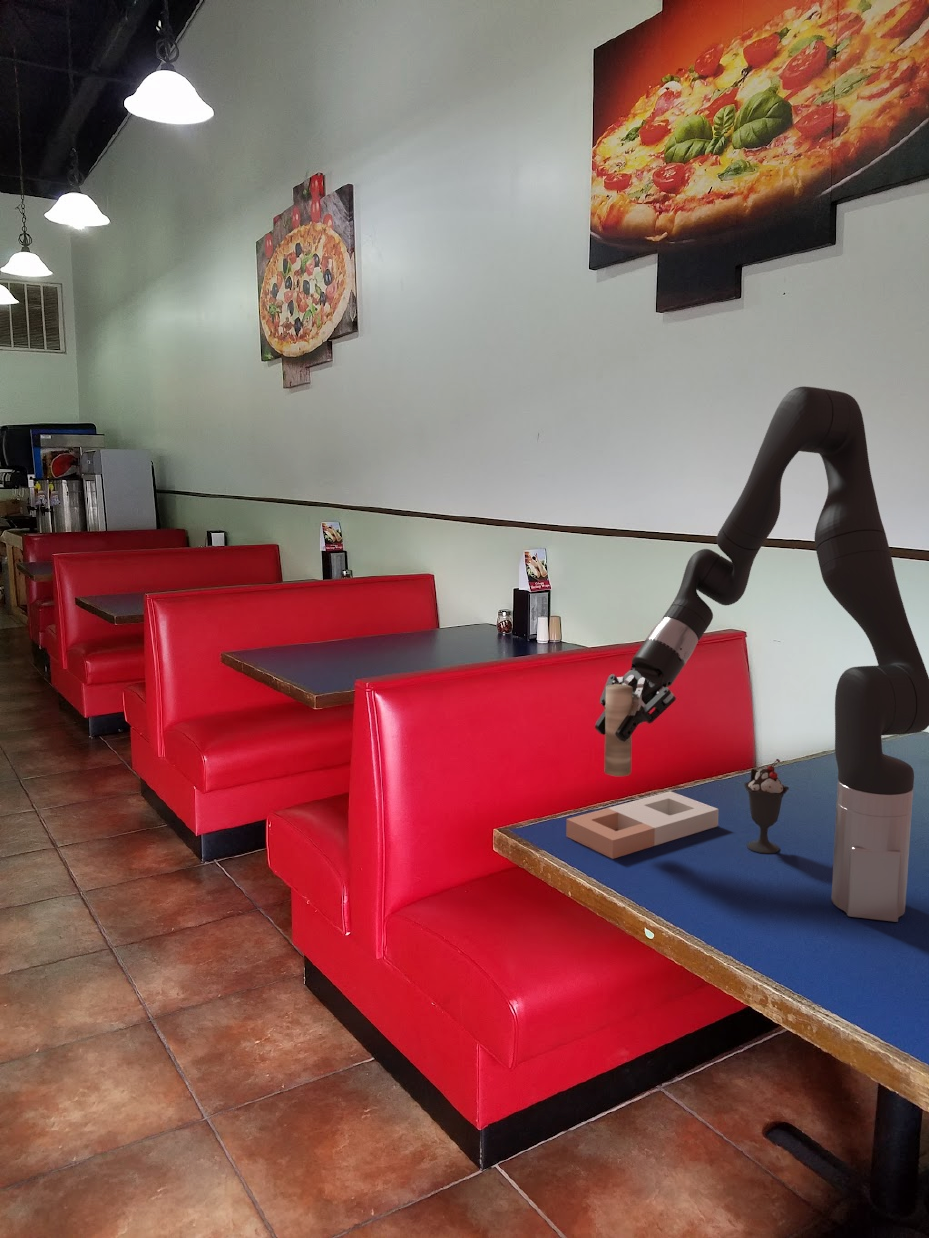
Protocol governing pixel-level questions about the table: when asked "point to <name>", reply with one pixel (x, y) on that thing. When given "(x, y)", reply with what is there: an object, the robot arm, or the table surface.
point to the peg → (614, 716)
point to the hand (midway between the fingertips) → (609, 734)
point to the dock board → (641, 824)
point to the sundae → (765, 805)
